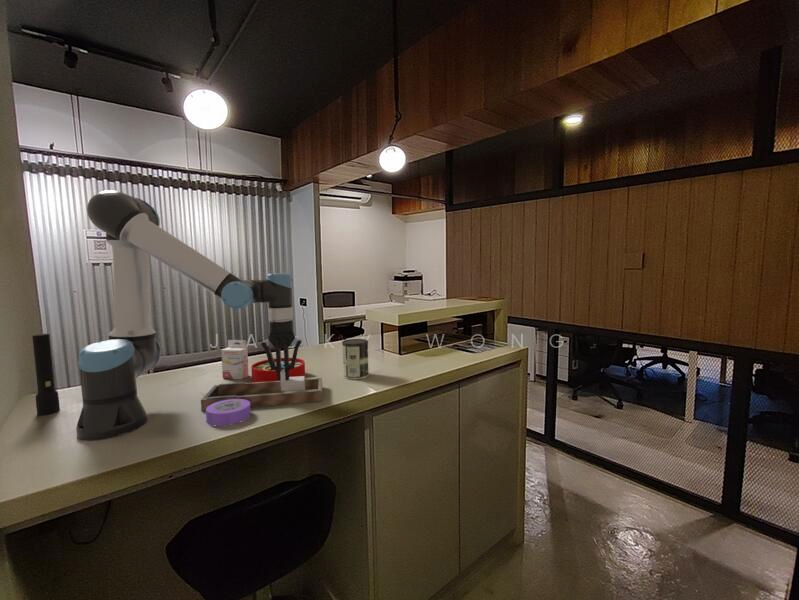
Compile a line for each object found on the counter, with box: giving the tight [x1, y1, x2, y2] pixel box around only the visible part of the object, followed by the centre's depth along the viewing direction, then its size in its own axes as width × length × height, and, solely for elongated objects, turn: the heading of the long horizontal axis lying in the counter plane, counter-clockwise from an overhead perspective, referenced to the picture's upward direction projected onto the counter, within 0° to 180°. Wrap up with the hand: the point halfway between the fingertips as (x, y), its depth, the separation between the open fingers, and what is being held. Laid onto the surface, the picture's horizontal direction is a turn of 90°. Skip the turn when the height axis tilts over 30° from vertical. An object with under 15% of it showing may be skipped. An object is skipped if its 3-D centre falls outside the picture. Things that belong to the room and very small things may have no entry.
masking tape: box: [205, 399, 252, 427], centre depth 106 cm, size 12×12×4 cm
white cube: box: [284, 375, 306, 392], centre depth 123 cm, size 6×6×6 cm
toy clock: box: [250, 357, 306, 383], centre depth 144 cm, size 20×6×20 cm
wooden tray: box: [200, 377, 323, 412], centre depth 122 cm, size 36×14×4 cm, turn 101°
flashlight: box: [31, 333, 60, 416], centre depth 110 cm, size 5×24×5 cm
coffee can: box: [341, 338, 370, 381], centre depth 145 cm, size 10×10×14 cm
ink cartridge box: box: [221, 339, 249, 380], centre depth 145 cm, size 9×5×15 cm, turn 84°
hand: (283, 389), depth 123 cm, fingers closed
